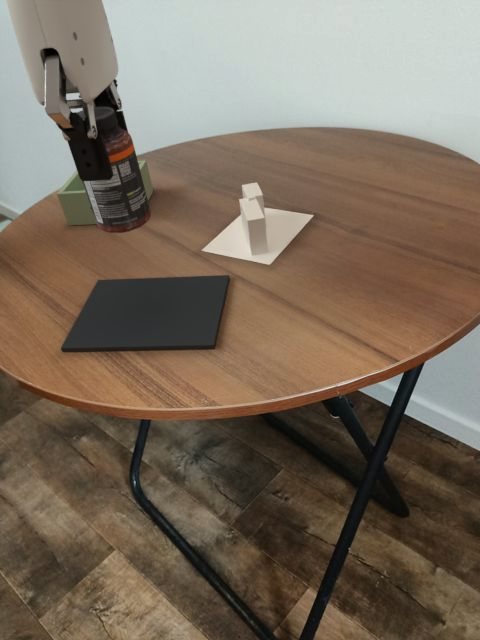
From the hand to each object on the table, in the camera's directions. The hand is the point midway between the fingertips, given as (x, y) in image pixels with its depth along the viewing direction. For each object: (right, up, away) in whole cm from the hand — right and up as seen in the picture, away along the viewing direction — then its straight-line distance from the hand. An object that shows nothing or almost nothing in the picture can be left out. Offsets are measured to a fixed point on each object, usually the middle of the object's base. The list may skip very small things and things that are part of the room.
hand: (107, 163), depth 52 cm
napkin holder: (+15, -1, +25) cm, 29 cm away
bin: (-10, +6, +36) cm, 38 cm away
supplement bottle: (+1, -5, +4) cm, 7 cm away
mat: (+2, -14, +12) cm, 19 cm away
